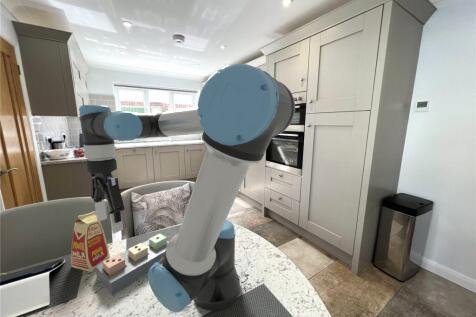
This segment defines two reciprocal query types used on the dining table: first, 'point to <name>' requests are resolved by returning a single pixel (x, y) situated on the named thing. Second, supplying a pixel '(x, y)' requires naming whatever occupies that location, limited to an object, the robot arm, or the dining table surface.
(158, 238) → the tile one
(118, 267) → the tile three
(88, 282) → the dining table surface
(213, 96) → the robot arm
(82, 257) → the milk carton
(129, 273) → the button board
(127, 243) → the dining table surface
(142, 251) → the tile two
